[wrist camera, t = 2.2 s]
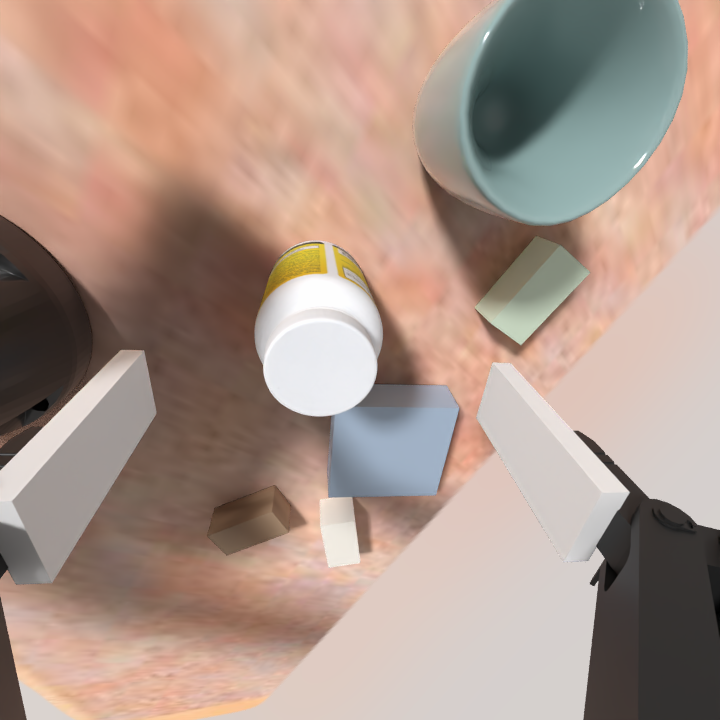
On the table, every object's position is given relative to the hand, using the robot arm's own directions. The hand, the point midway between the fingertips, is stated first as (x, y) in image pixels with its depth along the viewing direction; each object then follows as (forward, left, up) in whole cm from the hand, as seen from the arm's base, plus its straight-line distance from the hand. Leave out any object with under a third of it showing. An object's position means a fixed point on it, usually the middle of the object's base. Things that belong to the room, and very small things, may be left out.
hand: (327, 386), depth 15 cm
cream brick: (+3, -23, -12) cm, 26 cm away
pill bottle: (0, 0, -12) cm, 12 cm away
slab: (+6, -12, -12) cm, 18 cm away
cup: (+8, +10, -12) cm, 18 cm away
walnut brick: (-5, -21, -12) cm, 25 cm away
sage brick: (+14, +1, -12) cm, 18 cm away
